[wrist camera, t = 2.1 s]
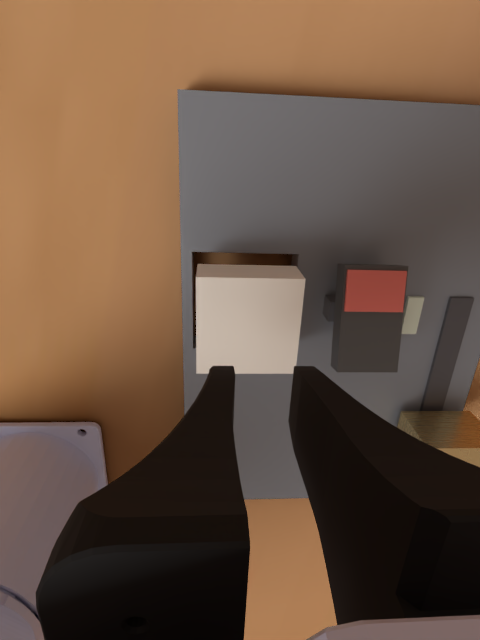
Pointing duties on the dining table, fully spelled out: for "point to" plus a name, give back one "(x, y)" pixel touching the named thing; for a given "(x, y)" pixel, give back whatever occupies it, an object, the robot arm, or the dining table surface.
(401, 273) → the rocker switch
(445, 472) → the robot arm
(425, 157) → the switch panel
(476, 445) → the block
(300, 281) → the push button
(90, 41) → the dining table surface
